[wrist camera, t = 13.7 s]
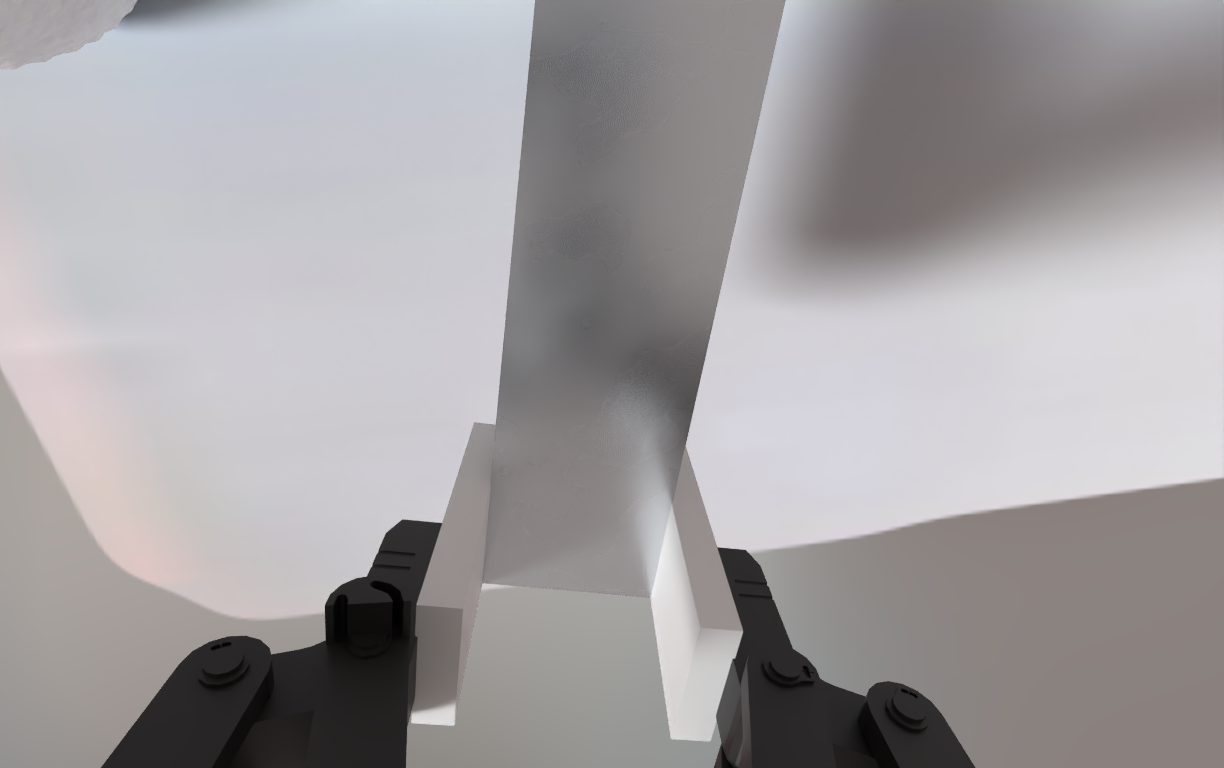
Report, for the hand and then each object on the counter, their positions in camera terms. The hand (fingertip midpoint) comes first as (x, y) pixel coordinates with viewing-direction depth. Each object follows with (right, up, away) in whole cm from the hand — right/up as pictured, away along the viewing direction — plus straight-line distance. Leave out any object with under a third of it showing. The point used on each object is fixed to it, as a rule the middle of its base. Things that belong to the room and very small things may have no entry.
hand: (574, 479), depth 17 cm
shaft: (+1, +6, -1) cm, 6 cm away
